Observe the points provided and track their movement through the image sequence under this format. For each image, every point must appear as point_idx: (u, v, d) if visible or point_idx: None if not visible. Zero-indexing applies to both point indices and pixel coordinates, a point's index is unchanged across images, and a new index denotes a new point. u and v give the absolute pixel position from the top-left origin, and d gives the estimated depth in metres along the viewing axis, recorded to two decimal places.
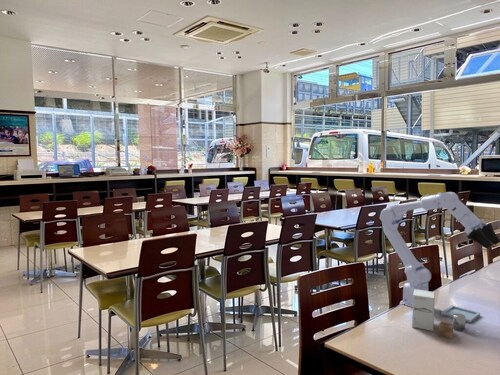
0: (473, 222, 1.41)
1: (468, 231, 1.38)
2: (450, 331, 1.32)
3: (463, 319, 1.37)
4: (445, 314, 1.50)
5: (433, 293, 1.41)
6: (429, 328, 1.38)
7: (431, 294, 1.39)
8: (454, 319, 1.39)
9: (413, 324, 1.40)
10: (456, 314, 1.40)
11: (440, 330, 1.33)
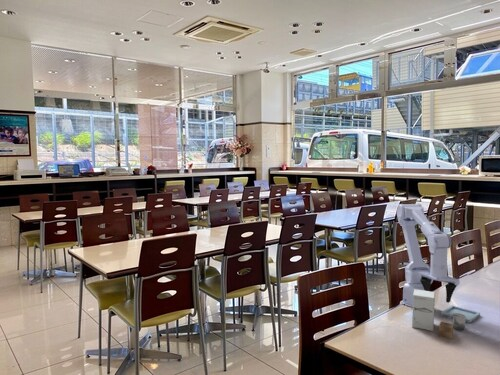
0: (430, 273, 1.46)
1: None
2: (450, 331, 1.32)
3: (463, 319, 1.37)
4: (445, 314, 1.50)
5: (433, 293, 1.41)
6: (429, 328, 1.38)
7: (431, 294, 1.39)
8: (454, 319, 1.39)
9: (413, 324, 1.40)
10: (456, 314, 1.40)
11: (440, 330, 1.33)
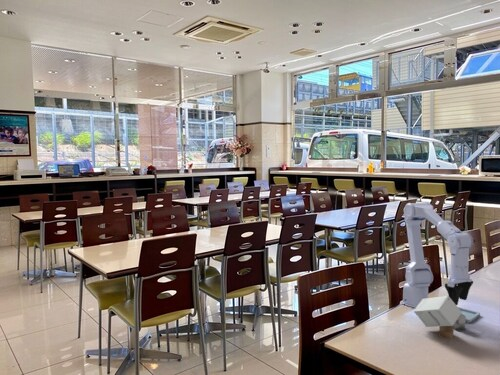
0: (461, 277, 1.36)
1: (450, 285, 1.34)
2: (450, 331, 1.31)
3: (463, 319, 1.37)
4: None
5: (458, 315, 1.30)
6: (425, 324, 1.38)
7: (454, 318, 1.29)
8: None
9: (416, 312, 1.38)
10: None
11: (440, 330, 1.33)
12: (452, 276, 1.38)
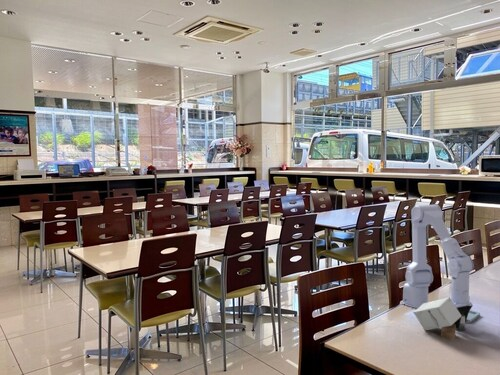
0: (462, 301, 1.36)
1: None
2: (452, 332, 1.31)
3: (463, 319, 1.37)
4: None
5: (458, 317, 1.31)
6: (423, 326, 1.38)
7: (453, 319, 1.30)
8: None
9: (415, 312, 1.39)
10: None
11: (442, 330, 1.33)
12: (453, 300, 1.38)
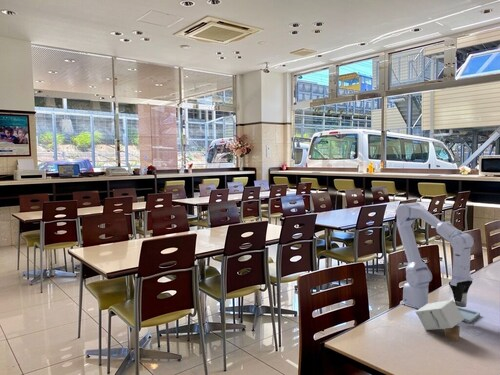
0: (463, 276, 1.42)
1: (452, 283, 1.40)
2: (456, 333, 1.30)
3: (465, 296, 1.43)
4: None
5: (459, 320, 1.30)
6: (424, 326, 1.38)
7: (455, 321, 1.29)
8: None
9: (418, 312, 1.39)
10: None
11: (446, 331, 1.32)
12: (454, 275, 1.44)
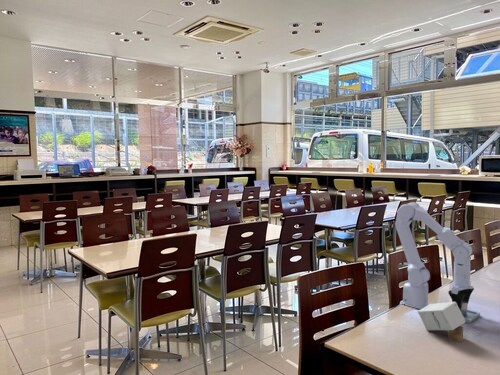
0: (463, 285, 1.47)
1: (454, 292, 1.45)
2: (459, 334, 1.29)
3: (465, 305, 1.49)
4: None
5: (461, 323, 1.29)
6: (426, 326, 1.38)
7: (456, 324, 1.29)
8: None
9: (419, 312, 1.39)
10: None
11: (449, 332, 1.31)
12: (455, 283, 1.49)
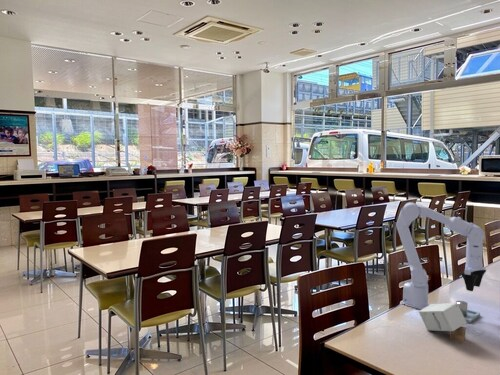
0: (476, 266, 1.50)
1: (467, 272, 1.48)
2: (461, 334, 1.29)
3: (465, 305, 1.49)
4: None
5: (462, 324, 1.29)
6: (426, 326, 1.38)
7: (457, 325, 1.28)
8: None
9: (420, 312, 1.39)
10: (459, 301, 1.51)
11: (451, 333, 1.31)
12: (468, 265, 1.52)
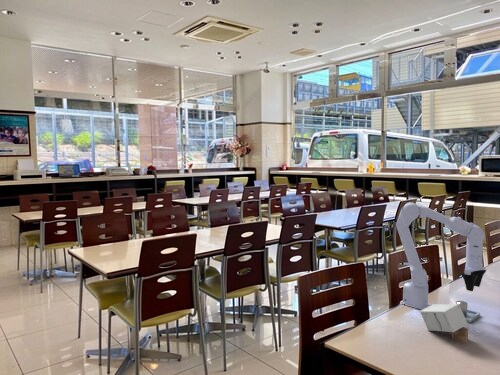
0: (476, 266, 1.50)
1: (467, 272, 1.48)
2: (464, 335, 1.28)
3: (465, 305, 1.49)
4: None
5: (463, 325, 1.29)
6: (427, 327, 1.38)
7: (458, 326, 1.28)
8: None
9: (422, 312, 1.39)
10: (459, 301, 1.51)
11: (454, 333, 1.30)
12: (468, 265, 1.52)
